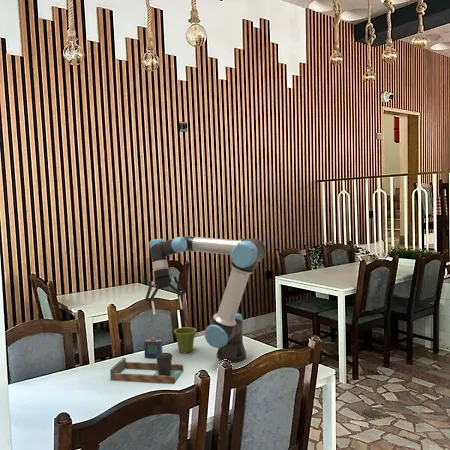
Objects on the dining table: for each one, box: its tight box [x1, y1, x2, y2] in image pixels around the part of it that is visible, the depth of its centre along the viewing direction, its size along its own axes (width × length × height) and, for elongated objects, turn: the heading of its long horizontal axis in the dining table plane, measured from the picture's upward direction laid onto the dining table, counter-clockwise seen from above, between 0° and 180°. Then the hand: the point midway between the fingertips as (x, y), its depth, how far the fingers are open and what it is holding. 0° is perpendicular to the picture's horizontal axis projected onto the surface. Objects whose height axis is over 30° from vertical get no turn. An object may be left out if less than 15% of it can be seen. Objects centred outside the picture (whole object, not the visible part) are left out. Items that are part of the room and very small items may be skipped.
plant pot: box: [173, 326, 197, 353], centre depth 266 cm, size 12×12×11 cm
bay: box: [109, 357, 184, 385], centre depth 232 cm, size 30×16×5 cm, turn 80°
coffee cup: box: [155, 352, 174, 376], centre depth 231 cm, size 8×8×10 cm
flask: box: [143, 336, 163, 359], centre depth 256 cm, size 9×3×11 cm, turn 88°
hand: (168, 311), depth 246 cm, fingers open, 13 cm apart
